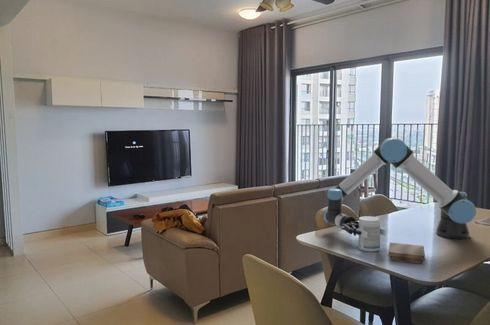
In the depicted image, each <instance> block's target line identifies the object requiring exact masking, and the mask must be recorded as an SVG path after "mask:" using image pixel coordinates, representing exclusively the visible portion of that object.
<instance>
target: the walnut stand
mask: <svg viewBox="0 0 490 325" xmlns="http://www.w3.org/2000/svg"><path fill="white" fill-rule="evenodd" d="M387 254H388V256H392V257H391V260H392V261H395V262H403V263H411V264H419V265H420V264H421V262H422V261H421V260H426V254H425V246H424V245H420V244H419V245H417V244H408V243H399V242H398V243H397V242H389V246H388V253H387Z"/></svg>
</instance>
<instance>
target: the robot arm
mask: <svg viewBox="0 0 490 325" xmlns="http://www.w3.org/2000/svg"><path fill="white" fill-rule="evenodd" d="M414 154H415V153H414V151H413V150H412V149H411V148H410V147H409V146H408V145H407V144H406V143H405V142H404V141H403V140H401V139H400V138H397V137H388V138H385V139H384V140H383V141H382V142H381V143H380V144H379V146H378V147H376V149H375V150H373V152H372V155H371V156H369V157H368V158H367V159H366V160H365V161H364V162H362V164H360V165H359V167H358V166H357V168H355V170H353V172H351V173H350V174H349V175H348V176H347V177H345V179H344V180H343V181H341V182H340V183H339V184H338V185H336V186H335V187H334V188H329V189H328V190H327V194H326V195H327V196H326V197H327V210H326V211H324V214H323V220H324V222H326V223H327V224H329V225H330V226H334V227H337V228H340V229H341V230H343V231H345V232H346V233H348V234H349V235H352V234H353V236H359V235H360V236H362V237H365V238H367V236H368V232H366V231H364V230H361V229H359V220H356V219H355V217H353V216H351V215H347V214H346V213H343V200H344V199H345V198H346V197H347V196H348V195H349V194H351V193H352V192H353V191H354V190H356V188H358V186H360V185H361V184H362V183H364V182H365V181H366V180H368V178H369V177H371V175H373V174H374V173H375V172H376V171H378V169H380V168H381V167H382V166H383V165H385V166H386V165H387V164H388V163H389V164H390V165H392V167H394V168H395V169H400V170H402V171H403V172H404V173H405V174H406V175H407V176H408V177H409V178H411V180H413V182H415V183H416V184H417V185H419V187H421V188H422V189H423V190H424V191H425V192H426V193H427V194H428V195H430V197H431V198H433V199H434V200H435V201H436V202H437V206H438V208H440V220H439V221H438V224H437V227H436V229H435V230H436V232H435V233H436V235H437V236H441V237H444V238H448V239H458V240H459V239H460V240H463V239H464V240H465V239H468V238H470V230H469V227H468V224H467V223H470V222H472V221H473V220H474V219H475V217H476V215H477V209H476V206H475V204H474V202H472V201H471V200H469V199H468V194H467V192H465V191H458V190H457V189H451V188H450V187H449V186H448V185H447V184H446V183H444V182H443V181H442V180H441V178H439V177H438V176H437V175H436V174H435V173H433V172H432V171H431V170H430V169H429V168H427V167H426V165H424V164H423V163H422V162H421V161H420V160H419V159H418V158H416V157H415V156H414ZM380 235H382V236H386V228H383V227H380Z"/></svg>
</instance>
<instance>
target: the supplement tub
mask: <svg viewBox="0 0 490 325" xmlns="http://www.w3.org/2000/svg"><path fill="white" fill-rule="evenodd" d="M358 222H359V229H361V230H364V231H366V232H368V236H367V238H365V237H362V236H360V235H358V248H359V249H360V250H361V251H364V252H370V253H373V252H379V251H380V250H381V234H380V228H381V220H380V218H379V217H376V216H373V215H372V216H371V215H367V216H366V215H365V216H360V217H358Z"/></svg>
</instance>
